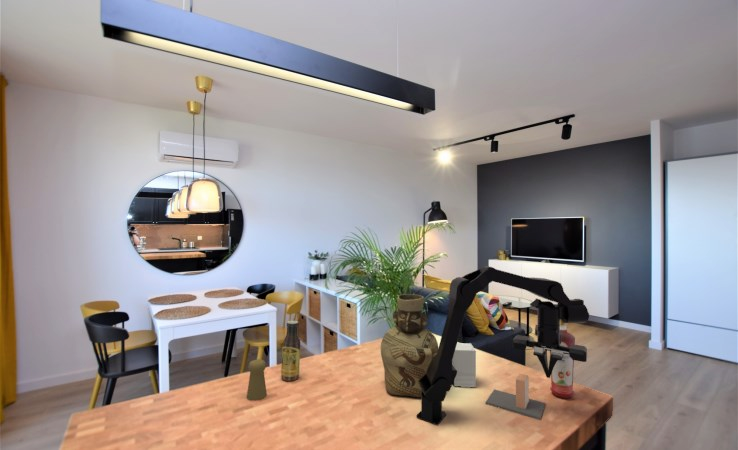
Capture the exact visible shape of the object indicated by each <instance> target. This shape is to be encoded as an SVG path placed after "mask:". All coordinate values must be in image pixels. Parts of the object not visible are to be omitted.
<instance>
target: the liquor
mask: <svg viewBox="0 0 738 450" xmlns="http://www.w3.org/2000/svg"><path fill="white" fill-rule="evenodd" d="M567 324H568V323H563V322H562V321H561V319H560V332H561V344H560V346H564V347H570V345H571V344H574V345H576V337H575V336H574V335H573V334H572V333H570V332H569V331H568V327H567V326H568V325H567ZM550 356H551V351H549V357H550ZM574 364H575V360H572V359H571V357H570V356H569V354H564V356H563V359H562V360H558V361H557V362H556V364H555V366H554V368H553V371H552V373H551V376H550V379H551V380H550V381H551V386H550V387H549V390H550V391H551V392H552V394H553V395H554V396H555V397H557V396H558V398H560V397H561V399H570V398H571V397H573V396H574V395H575V391H574V366H575V365H574Z"/></svg>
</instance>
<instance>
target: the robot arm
mask: <svg viewBox="0 0 738 450" xmlns="http://www.w3.org/2000/svg"><path fill="white" fill-rule="evenodd" d="M492 282H495V283H498V284H501V285H506V286H508V287H512V288H517V289H520V290H525V291H526V292H529V293H530V294H533V295H534V296H537V297H538V298H535V299H534V301H532V302H531V303H530V304H529V306H530V307H533V308H535V309H537V324H535V328H534V335H535V336H536V337H537V341H535V340H531V338H530V336H527V335H520V334H517V335H515V337H513V339H512V342H511V345H512V349H515V350H520V351H525V350H526V349H527V348H532V349H533V352H532V355H533V356H536V357H537V359H538V360H539V362H540V364H541V366H542V369H543V372H544V374H545V376H546V378H549V379H551V373H552V371H553V368H554V366H555V364H556V362H557V361H558V360H562V359H563V356H564V354H569V356H570V357H571V359H572V360H574V361H578V362H582V363H587V360H588V348H587V347H586V346H584V345H579V344H575V345H574V344H571V345H570V347H564V346H560V344H561V332H560V319H561V321H562V322H563V323H566V324H587V322H588V321H589V319H590V312H589V309H588V308H587V306H586V305H585V304H584V303H585V302H584V300H583V299H581V298H574V299H570V298H569V296H568V295H567V294H566V293H565V291H564V287H563V285H562V283H561V282H559V281H556V280H554V279H552V280H551V279H549V278H548V279H547V278H544V277H542V278H541V277H526V276H522V275H519V274H516V273H511V272H508V271H503V270H500V269H496V268H494V267H492V266H489V265H483V266H482V267H480V268H477V270H474V271H472V272H469V273H467V274H465V275H463V276H459V277H455V278H454V279H452V280H451V281H450V284H449V293H448V301H449V309H448V311H447V316H446V319H445V323H444V326H443V330H442V334H441V338H440V342H439V343H438V352H437V354H436V356H435V357H434V358H433V359H432V361H431V362H430V365H429V367H428V369H427V371H426V374H425V375H424V376H423V377H422V378H421V379H420V380H419V384H420V387H421V389H422V393H421V402H420V403H421V410H420V411H419V412H418V413H417V414H416V418H417V419H420V420H423V421H426V422H428V423H432V424H434V425H439V424H440V423H441V422H442V421H443V419H444V418H445V417H446V416H447V412H445V411H444V410H443V402H444V401H445V399H446V395H447V393H448V392H449V391H450V390H451V389H452V386H453V387H454V380H455V377H456V375H457V370H456V369H455V368H454V366H453V365H452V360H453V356H454V352H455V349H456V345H457V343H458V340H459V337H460V333H461V329H462V327H463V323H464V319H465V316H466V312H467V311H468V310H469V308H470V307H471V306H472V305H473V304H474V303H473V302H474V300H475V298H476V295H477V294H478V293H480V292H482V291H483V290H484V289H485V288H486V287H488V285H489V284H490V283H492ZM539 298H542V299H545V300H546V301H543V300H541V299H539ZM553 302H554V303H553ZM555 303H556V304H555ZM548 351H549V352H550V351H551V356H550V355H549V360H548ZM442 410H443V411H442Z"/></svg>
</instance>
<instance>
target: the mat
mask: <svg viewBox="0 0 738 450" xmlns="http://www.w3.org/2000/svg"><path fill="white" fill-rule="evenodd" d="M488 404H489V405H488ZM485 405H488V406H491V405H492V406H491V407H495V408H498V407H499V408H498V409H501V408H502V410H505V409H506V410H505V411H508V410H509V411H508V412H513V413H516V414H519V415H523V416H526V417H528V418H533V419H536V420H542V417H543V416H542V415H543V412H544V410H545V407H546V402H543V401H540V400H535V399H532V398H529V402H528V404H527V407H526V408H525V409H523V408H519V407H516V394H513V393H510V392H509V393H508V392H505V391H502V390H500V389H499V390H498V389H496V388H495V389H493V391H492V392H491V393H490V395H489V396H488V398H487V399H486V401H485Z"/></svg>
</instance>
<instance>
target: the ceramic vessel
mask: <svg viewBox="0 0 738 450" xmlns="http://www.w3.org/2000/svg"><path fill="white" fill-rule="evenodd" d="M424 303H425V298H424V296H422V295H420V294H413V293H412V294H411V293H403V294H399V295H398V296H397V310H394V311H393V313H392V320H393V323H395V324H397V325H394V326H393V327H391V328H390V329H388V330H387V331H386V332H385V333H384V334H383V336H382V339H381V342H380V355H381V357H380V358H381V360H382V365H383V369H384V370H383V371H384V385H385V389H386V392H387V393H388V394H390V395H391V396H397V395H398V396H397V397H402V396H403V397H409V396H411V398H415V397H421V393H422V389H421V387H420V384H419V380H420V379H421V378H422V377H423V376H424V375H425V374H426V371H427V369H428V367H429V365H430V362H431V361H432V359H433V358H434V357H435V356H436V354H437V352H438V348H439V342H438V340H437V338H436V336H435V335H434V334H433V332H431V331H430V330H429V329H428V328H426V327H425V326H427V324H428V316H427V314H426V313H423V311H422V310H423V307H424Z"/></svg>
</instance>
